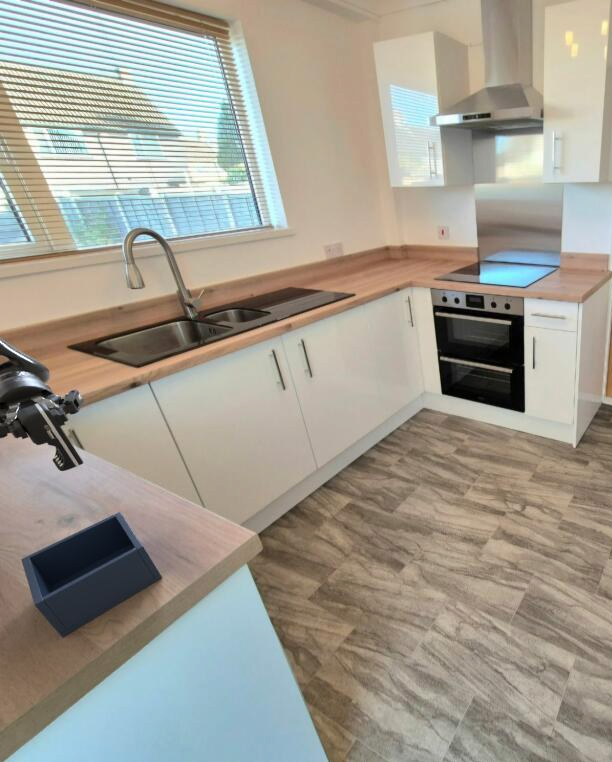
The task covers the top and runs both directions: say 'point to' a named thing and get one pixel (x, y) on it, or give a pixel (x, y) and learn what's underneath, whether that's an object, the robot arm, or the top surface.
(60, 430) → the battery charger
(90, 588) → the bin
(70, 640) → the top surface
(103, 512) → the top surface
